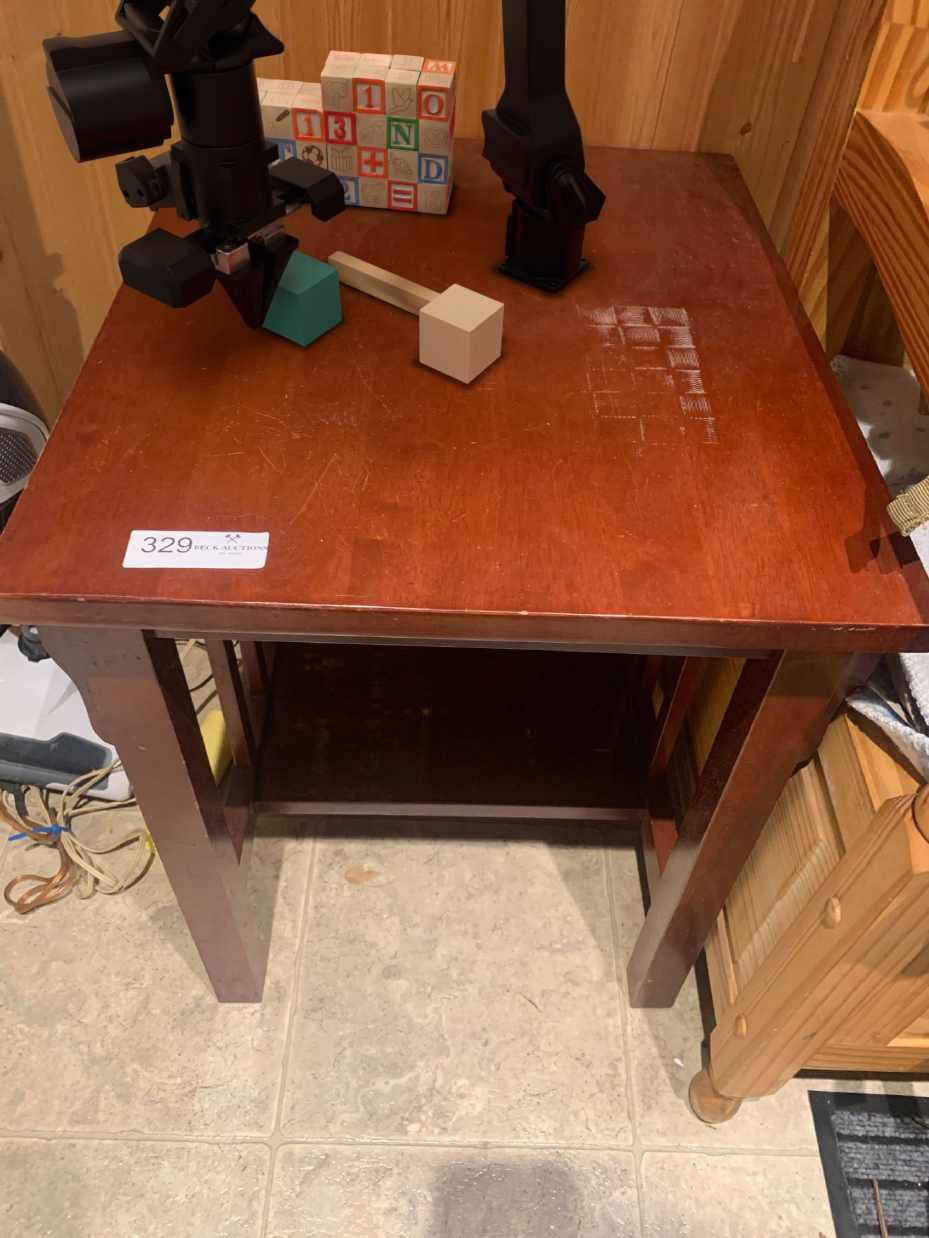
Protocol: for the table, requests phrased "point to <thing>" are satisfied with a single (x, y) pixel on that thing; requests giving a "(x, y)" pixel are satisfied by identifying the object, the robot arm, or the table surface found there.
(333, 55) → the stack of blocks
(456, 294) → the cream block
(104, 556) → the table surface
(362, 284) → the rail
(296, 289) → the teal block
